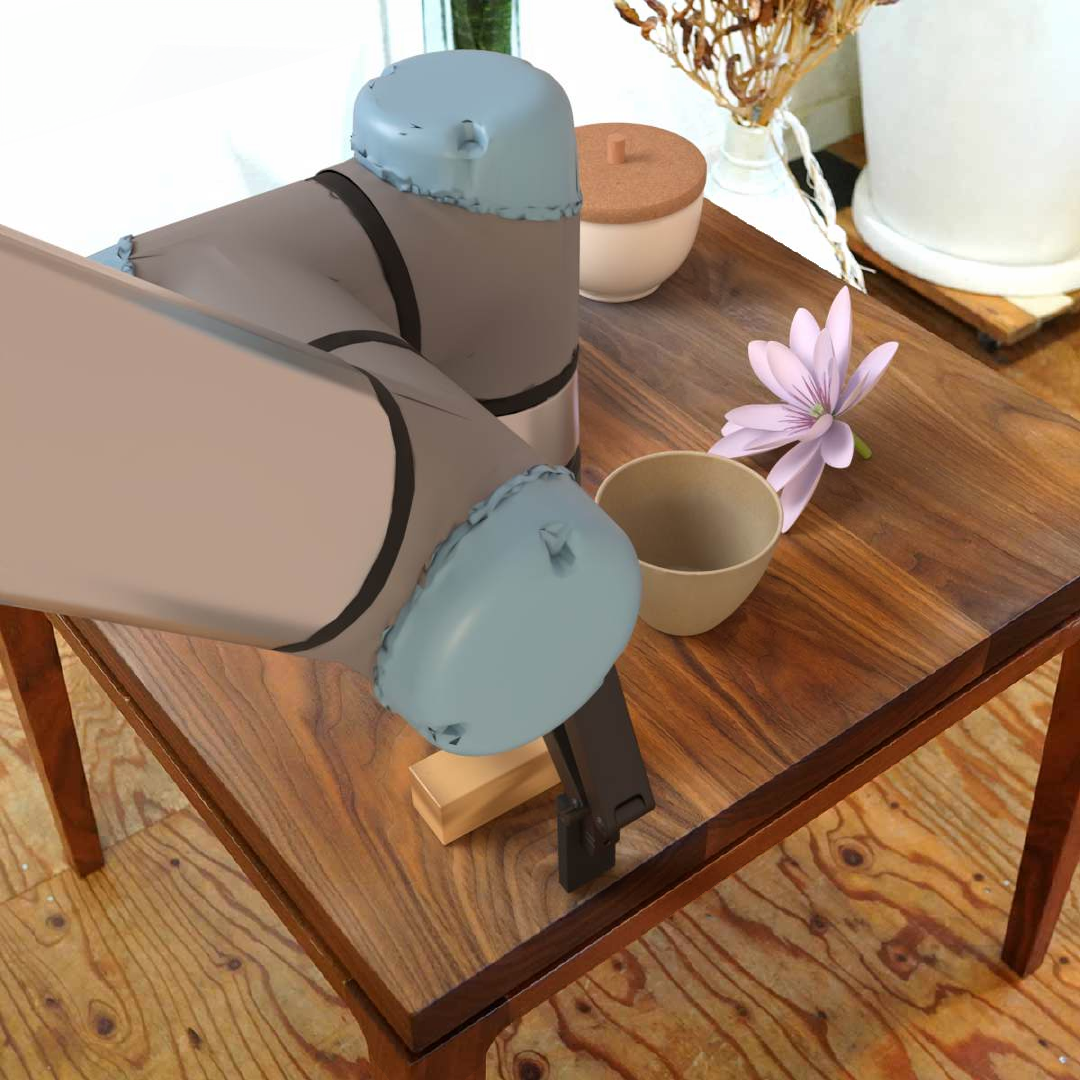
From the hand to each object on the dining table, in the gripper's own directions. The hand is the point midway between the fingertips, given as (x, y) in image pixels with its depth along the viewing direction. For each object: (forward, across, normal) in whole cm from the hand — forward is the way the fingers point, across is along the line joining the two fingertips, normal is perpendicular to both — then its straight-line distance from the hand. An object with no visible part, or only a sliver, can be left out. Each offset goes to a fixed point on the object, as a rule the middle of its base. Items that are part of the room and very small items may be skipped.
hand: (508, 780), depth 73 cm
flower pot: (0, +5, -15) cm, 16 cm away
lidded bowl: (+1, +35, -32) cm, 47 cm away
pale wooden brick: (0, 0, 0) cm, 0 cm away
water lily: (+1, +11, -28) cm, 30 cm away
